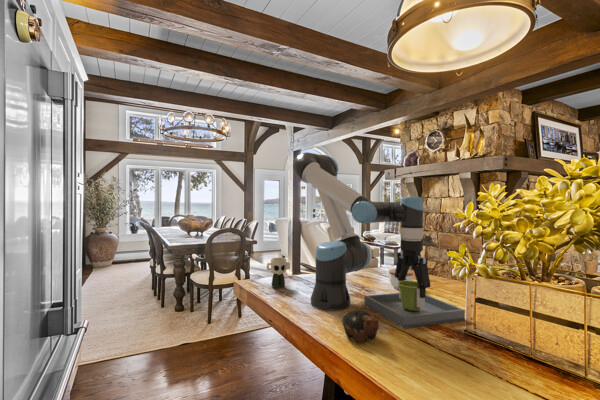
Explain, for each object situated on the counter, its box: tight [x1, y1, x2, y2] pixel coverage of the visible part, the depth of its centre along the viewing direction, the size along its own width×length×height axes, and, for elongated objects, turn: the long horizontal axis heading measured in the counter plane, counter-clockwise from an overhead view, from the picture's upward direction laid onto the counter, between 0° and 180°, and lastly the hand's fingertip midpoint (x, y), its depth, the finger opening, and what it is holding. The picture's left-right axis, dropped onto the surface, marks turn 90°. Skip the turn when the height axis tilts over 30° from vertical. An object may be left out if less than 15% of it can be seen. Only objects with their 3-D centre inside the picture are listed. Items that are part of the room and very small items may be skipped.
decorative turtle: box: [341, 309, 380, 345], centre depth 93 cm, size 10×15×8 cm, turn 32°
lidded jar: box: [388, 268, 414, 290], centre depth 149 cm, size 11×11×9 cm
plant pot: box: [398, 280, 422, 311], centre depth 115 cm, size 9×9×9 cm
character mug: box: [266, 257, 291, 288], centre depth 148 cm, size 11×7×13 cm, turn 106°
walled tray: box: [364, 292, 466, 329], centre depth 115 cm, size 24×24×4 cm
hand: (411, 302), depth 115 cm, fingers closed on plant pot, 9 cm apart
